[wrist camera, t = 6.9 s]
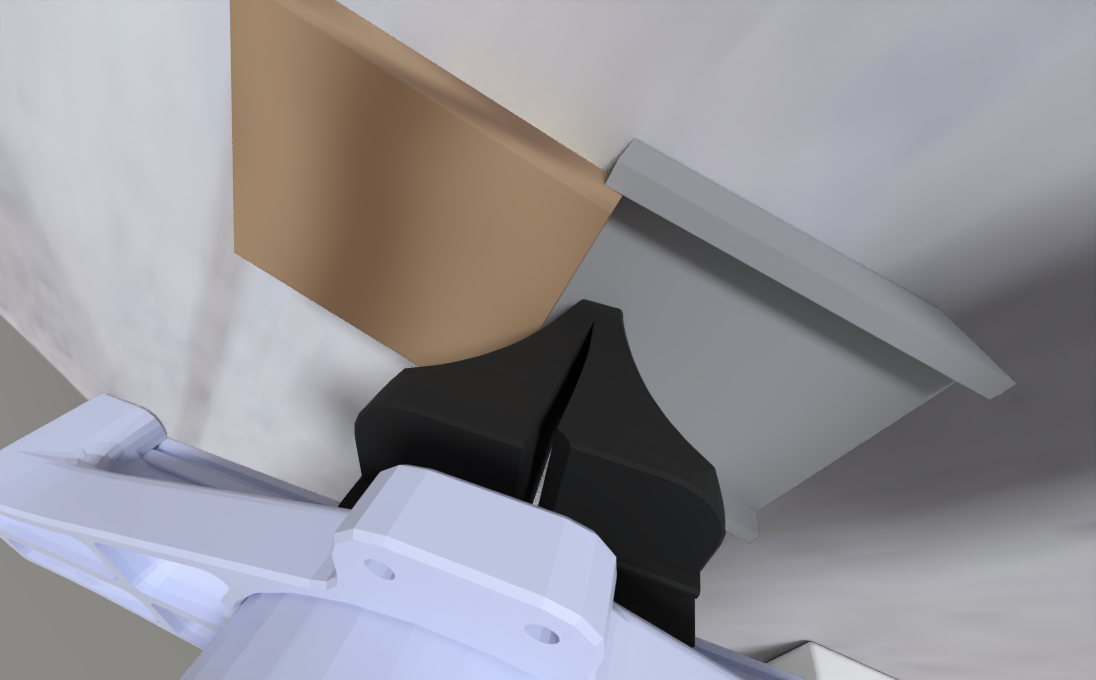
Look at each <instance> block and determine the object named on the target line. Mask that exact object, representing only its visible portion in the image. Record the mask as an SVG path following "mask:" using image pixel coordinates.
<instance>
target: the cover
mask: <svg viewBox="0 0 1096 680" xmlns="http://www.w3.org/2000/svg"><path fill="white" fill-rule="evenodd" d="M230 33H231V89H232V144H233V200H234V253H236V254H237V255H239V256H241V257H242V258H244V259H246V260H247V261H249V262H250V263H252V264H254V265H255V266H257V267H259V268H260V269H262V270H263V271H265V272H267V273H268V274H270V275H272V276H273V277H275V278H276V279H278V280H280V281H281V282H283V283H285V284H286V285H288V286H289V287H291V288H293V289H294V290H296V291H298V292H299V293H301V294H302V295H304V296H306V297H307V298H309V299H311V300H312V301H314V302H315V303H317V304H319V305H320V306H322V307H324V308H325V309H327V310H328V311H330V312H332V313H333V314H335V315H337V316H338V317H340V318H341V319H343V320H345V321H346V322H348V323H350V324H351V325H353V326H354V327H356V328H358V329H359V330H361V331H363V332H364V333H366V334H367V335H369V336H371V337H372V338H374V339H376V340H377V341H379V342H380V343H382V344H384V345H385V346H387V347H389V348H390V349H392V350H393V351H395V352H397V353H398V354H400V355H402V356H403V357H405V358H406V359H408V360H410V361H411V362H413V363H415V364H416V365H418V366H419V367H423V366H431V365H439V364H445V363H451V362H456V361H460V360H465V359H469V358H473V357H477V356H480V355H483V354H487V353H490V352H493V351H496V350H499V349H502V348H504V347H507V346H509V345H512V344H514V343H516V342H518V341H520V340H522V339H524V338H526V337H528V336H530V335H532V334H533V333H535V332H537V331H538V330H540V329H541V328H542V326H543V324H544V323H545V321H546V320H547V318H548V316H549V315H550V313H551V311H552V310H553V308H554V307H555V305H556V303H557V302H558V300H559V298H560V297H561V295H562V294H563V292H564V290H565V289H566V287H567V285H568V284H569V282H570V281H571V279H572V277H573V276H574V274H575V272H576V271H577V269H578V268H579V266H580V264H581V263H582V261H583V259H584V258H585V256H586V255H587V253H588V251H589V250H590V248H591V246H592V245H593V243H594V242H595V240H596V238H597V237H598V235H599V233H600V232H601V230H602V229H603V227H604V225H605V224H606V222H607V221H608V219H609V217H610V216H611V214H612V212H613V211H614V209H615V208H616V206H617V204H618V203H619V201H620V199H621V198H622V196H623V195H622V194H620V193H618V192H617V191H615V190H613V189H611V188H609V187H608V186H606V185H605V184H606V182H607V180H608V178H609V176H610V175H609V174H608V173H606V172H605V171H603V170H602V169H600V168H598V167H597V166H595V165H594V164H592V163H591V162H589V161H587V160H586V159H584V158H583V157H581V156H579V155H578V154H576V153H575V152H573V151H572V150H570V149H568V148H567V147H565V146H564V145H562V144H561V143H559V142H557V141H556V140H554V139H553V138H551V137H550V136H548V135H546V134H545V133H543V132H542V131H540V130H539V129H537V128H535V127H534V126H532V125H531V124H529V123H528V122H526V121H524V120H523V119H521V118H520V117H518V116H517V115H515V114H513V113H512V112H510V111H509V110H507V109H506V108H504V107H502V106H501V105H499V104H498V103H496V102H495V101H493V100H491V99H490V98H488V97H487V96H485V95H483V94H482V93H480V92H479V91H477V90H476V89H474V88H472V87H471V86H469V85H468V84H466V83H465V82H463V81H461V80H460V79H458V78H457V77H455V76H454V75H452V74H450V73H449V72H447V71H446V70H444V69H443V68H441V67H439V66H438V65H436V64H435V63H433V62H432V61H430V60H428V59H427V58H425V57H424V56H422V55H421V54H419V53H417V52H416V51H414V50H413V49H411V48H410V47H408V46H406V45H405V44H403V43H402V42H400V41H399V40H397V39H395V38H394V37H392V36H391V35H389V34H387V33H386V32H384V31H383V30H381V29H380V28H378V27H376V26H375V25H373V24H372V23H370V22H369V21H367V20H365V19H364V18H362V17H361V16H359V15H358V14H356V13H354V12H353V11H351V10H350V9H348V8H347V7H345V6H343V5H342V4H340V3H339V2H337V1H336V0H230Z"/></svg>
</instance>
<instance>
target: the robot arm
mask: <svg viewBox="0 0 1096 680" xmlns="http://www.w3.org/2000/svg"><path fill="white" fill-rule="evenodd" d="M355 440H356V446H357V451H358V457H359V462H360V468H361V473H362V476H361V478H360V479H359V480H358V481H357V483H356V484H355V485H354V486H353V488H352V489H351V490H350V491H349V493H348V494H347V495H346V497H345V498H344V499H343V500H342V502H341V503H340V502H337V501H335V500H332V499H330V498H327V497H324V496H322V495H319V494H316V493H314V492H311V491H308V490H306V489H303V488H300V487H298V486H295V485H293V484H290V483H287V482H285V481H282V480H279V479H277V478H274V477H271V476H269V475H266V474H263V473H261V472H258V471H256V470H253V469H250V468H248V467H245V466H242V465H240V464H237V463H234V462H232V461H229V460H226V459H224V458H221V457H218V456H216V455H213V454H211V453H208V452H205V451H203V450H200V449H197V448H195V447H192V446H189V445H187V444H184V443H181V442H179V441H176V440H174V439H171V438H168V437H167V432H166V430H165V428H164V426H163V424H162V422H161V421H160V420H159V418H158V417H157V416H156V415H155V414H154V413H152V412H151V411H150V410H148V409H146V408H144V407H142V406H139V405H137V404H134V403H131V402H128V401H126V400H123V399H120V398H118V397H115V396H112V395H109V394H100V395H98V396H96V397H95V398H93V399H91V400H89V401H87V402H86V403H84V404H82V405H80V406H79V407H77V408H75V409H73V410H71V411H69V412H68V413H66V414H64V415H62V416H61V417H59V418H57V419H56V420H53V421H52V422H50V423H48V424H46V425H44V426H43V427H41V428H39V429H37V430H36V431H34V432H32V433H30V434H29V435H27V436H25V437H23V438H22V439H19V440H18V441H16V442H14V443H12V444H11V445H9V446H7V447H5V448H4V449H2V450H0V537H1V538H2V539H3V540H4V541H5V542H6V543H8V544H9V545H10V546H11V547H12V548H13V549H15V550H16V551H17V552H18V553H19V554H21V555H22V556H23V557H24V558H25V559H27V560H29V561H31V562H34V563H36V564H38V565H40V566H42V567H44V568H46V569H48V570H51V571H53V572H55V573H57V574H59V575H61V576H63V577H65V578H67V579H69V580H71V581H73V582H75V583H77V584H79V585H81V586H83V587H85V588H87V589H89V590H91V591H93V592H95V593H97V594H99V595H101V596H103V597H105V598H107V599H109V600H111V601H113V602H114V603H117V604H118V605H120V606H122V607H124V608H126V609H128V610H130V611H131V612H133V613H135V614H137V615H139V616H141V617H143V618H144V619H146V620H149V621H150V622H152V623H154V624H156V625H157V626H160V627H161V628H163V629H165V630H167V631H169V632H171V633H173V634H174V635H176V636H178V637H180V638H182V639H184V640H185V641H187V642H189V643H191V644H193V645H195V646H196V647H198V648H200V649H202V650H203V652H202V653H201V654H200V655H199V657H198V658H197V659H196V660H195V661H194V663H193V664H192V665H191V666H190V667H189V669H188V670H187V671H186V672H185V673H184V675H183V676H182V677H181V678H180V679H179V680H808V679H806V678H803V677H800V676H798V675H795V674H792V673H790V672H787V671H784V670H782V669H779V668H776V667H774V666H771V665H769V664H766V663H763V662H761V661H758V660H755V659H753V658H750V657H747V656H745V655H742V654H739V653H737V652H734V651H732V650H729V649H726V648H724V647H721V646H718V645H716V644H713V643H710V642H708V641H705V640H702V639H700V638H697V637H695V599H697V598H698V596H699V594H700V572H701V570H702V569H703V568H704V566H705V565H706V564H707V562H708V561H709V560H710V558H711V557H712V556H713V555H714V553H715V552H716V551H717V549H718V548H719V547H720V545H721V543H722V541H723V539H724V536H725V534H726V531H725V510H724V503H723V498H722V494H721V489H720V485H719V481H718V477H717V473H716V469H715V467H714V466H713V465H712V464H711V463H710V462H709V461H708V460H707V459H706V458H705V457H703V456H702V455H701V454H700V453H699V452H698V451H697V450H696V449H695V448H694V447H693V446H692V445H691V444H690V443H689V442H688V441H687V440H686V439H685V438H684V437H683V436H682V435H681V433H680V432H679V431H678V430H677V429H676V428H675V427H674V426H673V424H672V423H671V422H670V421H669V419H668V418H667V417H666V416H665V414H664V413H663V412H662V410H661V409H660V407H659V406H658V405H657V403H656V402H655V400H654V399H653V397H652V396H651V394H650V392H649V390H648V389H647V387H646V385H645V383H644V381H643V379H642V377H641V375H640V373H639V371H638V368H637V366H636V363H635V361H634V359H633V356H632V353H631V350H630V347H629V343H628V340H627V336H626V332H625V327H624V321H623V312H622V310H621V309H619V308H615V307H611V306H608V305H604V304H601V303H597V302H593V301H590V300H586V299H582V300H580V301H578V302H577V303H576V304H575V305H574V306H573V307H571V308H570V309H569V310H568V311H566V312H565V313H564V314H562V315H561V316H560V317H558V318H557V319H555V320H554V321H553V322H551V323H550V324H548V325H547V326H545V327H544V328H542V329H540V330H538V331H537V332H535V333H533V334H532V335H530V336H528V337H526V338H524V339H522V340H520V341H518V342H516V343H514V344H512V345H509V346H507V347H504V348H502V349H499V350H496V351H493V352H490V353H487V354H483V355H480V356H477V357H473V358H469V359H465V360H460V361H456V362H451V363H445V364H439V365H431V366H423V367H415V368H405V369H404V370H402V371H401V372H400V373H399V374H398V375H397V376H396V377H394V378H393V379H392V380H391V381H390V382H389V383H388V384H387V385H386V386H385V387H384V388H383V389H382V390H381V391H380V392H379V393H378V394H377V395H376V396H375V397H374V398H373V399H372V400H371V401H370V403H369V404H368V405H367V406H366V407H365V408H364V409H363V410H362V411H361V412H360V413H359V415H358V417H357V419H356V422H355ZM551 449H552V450H551ZM550 451H551V455H550V459H549V463H548V467H547V471H546V476H545V480H544V484H543V488H542V492H541V496H540V501H539V504H538V506H535V505H533V501H534V498H535V495H536V492H537V489H538V486H539V483H540V480H541V477H542V474H543V471H544V468H545V466H546V463H547V460H548V457H549V454H550Z"/></svg>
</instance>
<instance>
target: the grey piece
mask: <svg viewBox="0 0 1096 680" xmlns="http://www.w3.org/2000/svg"><path fill="white" fill-rule="evenodd" d="M605 185H606V186H608V187H609V188H611V189H613V190H615V191H617V192H618V193H620V194H622V195H623V196H622V198H621V199H620V201H619V203H618V204H617V206H616V208H615V209H614V211H613V212H612V214H611V216H610V217H609V219H608V221H607V222H606V224H605V225H604V227H603V229H602V230H601V232H600V233H599V235H598V237H597V238H596V240H595V242H594V243H593V245H592V246H591V248H590V250H589V251H588V253H587V255H586V256H585V258H584V259H583V261H582V263H581V264H580V266H579V268H578V269H577V271H576V272H575V274H574V276H573V277H572V279H571V281H570V282H569V284H568V285H567V287H566V289H565V290H564V292H563V294H562V295H561V297H560V298H559V300H558V302H557V303H556V305H555V307H554V308H553V310H552V311H551V313H550V315H549V316H548V318H547V320H546V321H545V323H544V324H543V326H542V328H544V327H545V326H547V325H548V324H550V323H551V322H553V321H554V320H555V319H557V318H558V317H560V316H561V315H562V314H564V313H565V312H566V311H568V310H569V309H570V308H571V307H573V306H574V305H575V304H576V303H577V302H578V301H580V300H582V299H586V300H590V301H593V302H597V303H601V304H604V305H608V306H611V307H615V308H619V309H621V310H622V312H623V321H624V327H625V332H626V336H627V340H628V343H629V347H630V350H631V353H632V356H633V359H634V361H635V363H636V366H637V368H638V371H639V373H640V375H641V377H642V379H643V381H644V383H645V385H646V387H647V389H648V390H649V392H650V394H651V396H652V397H653V399H654V400H655V402H656V403H657V405H658V406H659V407H660V409H661V410H662V412H663V413H664V414H665V416H666V417H667V418H668V419H669V421H670V422H671V423H672V424H673V426H674V427H675V428H676V429H677V430H678V431H679V432H680V433H681V435H682V436H683V437H684V438H685V439H686V440H687V441H688V442H689V443H690V444H691V445H692V446H693V447H694V448H695V449H696V450H697V451H698V452H699V453H700V454H701V455H702V456H703V457H705V458H706V459H707V460H708V461H709V462H710V463H711V464H712V465H713V466H714V467H715V469H716V473H717V477H718V481H719V485H720V489H721V494H722V498H723V503H724V510H725V531H727V532H729V533H731V534H733V535H735V536H736V537H738V538H740V539H742V540H744V541H746V542H747V543H750V542H752V541H753V540H755V539H757V538H758V537H760V530H759V523H758V516H757V511H759V510H760V509H762V508H763V507H765V506H766V505H768V504H769V503H771V502H772V501H774V500H776V499H777V498H779V497H780V496H782V495H783V494H785V493H786V492H788V491H789V490H791V489H793V488H794V487H796V486H797V485H799V484H800V483H802V482H803V481H805V480H806V479H808V478H809V477H811V476H813V475H814V474H816V473H817V472H819V471H820V470H822V469H823V468H825V467H826V466H828V465H830V464H831V463H833V462H834V461H836V460H837V459H839V458H840V457H842V456H843V455H845V454H846V453H848V452H850V451H851V450H853V449H854V448H856V447H857V446H859V445H860V444H862V443H863V442H865V441H867V440H868V439H870V438H871V437H873V436H874V435H876V434H877V433H879V432H880V431H882V430H884V429H885V428H887V427H888V426H890V425H891V424H893V423H894V422H896V421H897V420H899V419H900V418H902V417H904V416H905V415H907V414H908V413H910V412H911V411H913V410H914V409H916V408H917V407H919V406H921V405H922V404H924V403H925V402H927V401H928V400H930V399H931V398H933V397H934V396H936V395H937V394H939V393H941V392H942V391H944V390H945V389H947V388H948V387H950V386H951V385H953V384H954V383H956V382H959V383H960V384H962V385H964V386H966V387H968V388H969V389H971V390H973V391H975V392H977V393H978V394H980V395H982V396H984V397H985V398H987V399H989V400H991V399H993V398H995V397H996V396H998V395H1000V394H1001V393H1003V392H1005V391H1006V390H1008V389H1010V388H1011V387H1013V386H1015V385H1016V383H1015V382H1014V381H1013V380H1012V379H1011V378H1010V377H1009V376H1008V375H1007V374H1006V373H1005V372H1004V371H1003V370H1002V369H1001V368H1000V367H999V366H998V365H997V364H996V363H995V362H994V361H993V360H992V359H991V358H990V357H989V356H988V355H987V354H986V353H985V352H984V351H983V350H982V349H981V348H980V347H979V346H978V345H976V344H975V343H974V342H973V341H972V340H971V339H970V338H969V337H968V336H967V335H966V334H965V333H964V332H963V331H962V330H961V329H960V328H959V327H958V326H957V325H956V324H955V323H954V322H953V321H952V320H951V319H950V318H949V317H948V316H947V315H946V314H945V313H944V312H943V311H942V310H940V309H939V308H937V307H935V306H933V305H931V304H930V303H928V302H926V301H924V300H923V299H921V298H919V297H917V296H915V295H914V294H912V293H910V292H908V291H907V290H905V289H903V288H901V287H899V286H898V285H896V284H894V283H892V282H891V281H889V280H887V279H885V278H883V277H882V276H880V275H878V274H876V273H875V272H873V271H871V270H869V269H867V268H866V267H864V266H862V265H860V264H858V263H857V262H855V261H853V260H851V259H850V258H848V257H846V256H844V255H842V254H841V253H839V252H837V251H835V250H834V249H832V248H830V247H828V246H826V245H825V244H823V243H821V242H819V241H818V240H816V239H814V238H812V237H810V236H809V235H807V234H805V233H803V232H802V231H800V230H798V229H796V228H794V227H793V226H791V225H789V224H787V223H786V222H784V221H782V220H780V219H778V218H777V217H775V216H773V215H771V214H770V213H768V212H766V211H764V210H762V209H761V208H759V207H757V206H755V205H753V204H752V203H750V202H748V201H746V200H745V199H743V198H741V197H739V196H737V195H736V194H734V193H732V192H730V191H729V190H727V189H725V188H723V187H721V186H720V185H718V184H716V183H714V182H713V181H711V180H709V179H707V178H705V177H704V176H702V175H700V174H698V173H697V172H695V171H693V170H691V169H689V168H688V167H686V166H684V165H682V164H681V163H679V162H677V161H675V160H673V159H672V158H670V157H668V156H666V155H665V154H663V153H661V152H659V151H657V150H656V149H654V148H652V147H650V146H649V145H647V144H645V143H643V142H641V141H640V140H638V139H636V138H634V139H633V140H632V142H631V143H630V144H629V146H628V147H627V148H626V150H625V151H624V152H623V154H622V155H621V156H620V158H619V159H618V160H617V162H616V164H615V166H614V168H613V170H612V172H611V174H610V176H609V178H608V180H607V182H606V184H605ZM542 328H541V329H542Z"/></svg>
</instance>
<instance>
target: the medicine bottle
mask: <svg viewBox="0 0 1096 680" xmlns="http://www.w3.org/2000/svg"><path fill="white" fill-rule="evenodd" d="M766 664H769V665H771V666H774V667H776V668H779V669H782V670H784V671H787V672H790V673H792V674H795V675H798V676H800V677H803V678H806V679H808V680H896V679H894V678H892V677H889V676H887V675H885V674H883V673H881V672H878V671H876V670H874V669H872V668H869V667H867V666H865V665H863V664H860V663H858V662H856V661H854V660H852V659H849V658H847V657H845V656H843V655H840V654H838V653H836V652H834V651H831V650H829V649H827V648H825V647H822V646H820V645H818V644H816V643H813V642H808V643H806V644H804V645H802V646H800V647H798V648H796V649H794V650H792V651H790V652H788V653H786V654H784V655H782V656H780V657H778V658H775V659H773V660H771V661H769V662H767V663H766Z"/></svg>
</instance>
